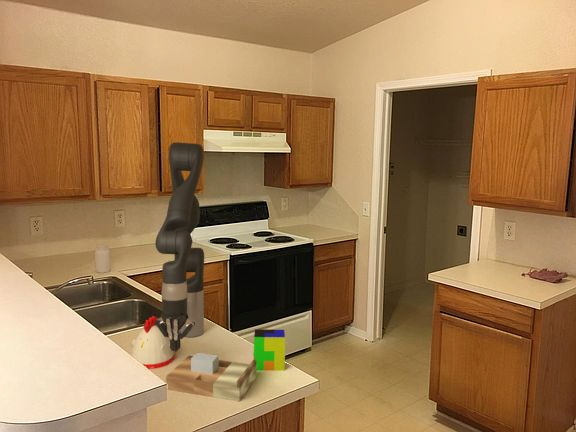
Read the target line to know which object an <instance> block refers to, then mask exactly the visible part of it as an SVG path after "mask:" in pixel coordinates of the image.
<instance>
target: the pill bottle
mask: <svg viewBox="0 0 576 432" xmlns="http://www.w3.org/2000/svg"><path fill="white" fill-rule="evenodd" d="M96 248H97V249H96V250H95V251H94V262H95V272H96V273H99V274H101V273H102V274H105V273H109V272H111V270H112V269H111V266H112V265H111V251H110V249H108V244H105V243H101V244H97V246H96Z"/></svg>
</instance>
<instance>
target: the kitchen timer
mask: <svg viewBox="0 0 576 432" xmlns="http://www.w3.org/2000/svg"><path fill="white" fill-rule="evenodd" d="M157 319H159V317H156V316H155V315H152V316H151V317H149V318H148V319H146V320H145V324H143V325H142V327H143V329H142V330H141V331H140V332H139V334H138V335H137V337H136V338H133V340H132V343H131V347H132V350H131V353H130V357H131V356H133V357H134V358H135V359H136V360H138V361H139V362H140V363H142V364H143V365H144V366H146V367H147V368H148V369H147V370H155V369H159V368H163V367H167V366H168V365H170V364H172V362H174V359H175V351H171V349H170V339H169V338H168V337H164V336H163V334H162V333H161V331H160V330H159V328H158V327H157V325H156V324H155V321H156V320H157Z"/></svg>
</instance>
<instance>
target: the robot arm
mask: <svg viewBox="0 0 576 432" xmlns="http://www.w3.org/2000/svg"><path fill="white" fill-rule="evenodd" d="M204 152H205V151H204V147H203V145H201V144H200V143H194V142H193V143H189V142H173V143H172V142H171V144H170V146H169V149H168V162H169V172H170V180H171V188H172V189H171V190H172V192H171V193H172V194H171V197H170V198H169V201H168V205H167V211H166V217H165V220H164V221H163V223H162V226H161V227H160V230H158V233H157V235H156V238H155V242H154V243H155V248H156V250H157V252H158V253H159V254H162V255H174V260H169V261H167V262H164V263H163V265H162V270H161V273H162V284H161V311H162V313H161V315H160V317H158V319H157V320H156V321H155V324H156V325H157V327H158V328H159V330H160V331H161V333H162V334H163V336H164V337H168V338H169V339H170V349H171V351H174V353H175V352H176V353H177V351H179V350H180V349H181V340H182V339H184V338H196V337H199V336H202V335H203V334H204V331H205V328H204V327H205V323H204V322H205V321H204V320H205V319H204V316H205V309H204V306H205V305H204V303H205V301H204V299H205V297H204V295H205V294H204V287H205V286H204V273H205V271H204V270H205V252H204V249H203V248H202V247H192V245H193V237H192V235H191V234H192V233H193V231H195V229H196V228H197V226H198V225H199V222H200V218H201V217H200V202H199V200H198V197H197V196H196V191H197V187H198V184H199V180H200V177H201V174H202V170H203V167H204V166H203V165H204V161H205V160H204V158H205V155H204V154H205V153H204ZM183 172H189V174H188V176H187V177H186V179H185V178H184V175H183ZM187 273H195V274H193V275H192V276H190V277H188V278H187Z"/></svg>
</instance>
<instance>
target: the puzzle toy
mask: <svg viewBox="0 0 576 432" xmlns="http://www.w3.org/2000/svg"><path fill="white" fill-rule="evenodd" d="M253 335H254V337H253V360H254V359H257V360H256V371H273V372H274V371H277V372H279V371H282V372H283V371H285V363H286V361H285V360H286V336H285V335H286V334H285V329H269V328H268V329H261V328H259V329H256V328H255V329H254V334H253Z"/></svg>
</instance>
